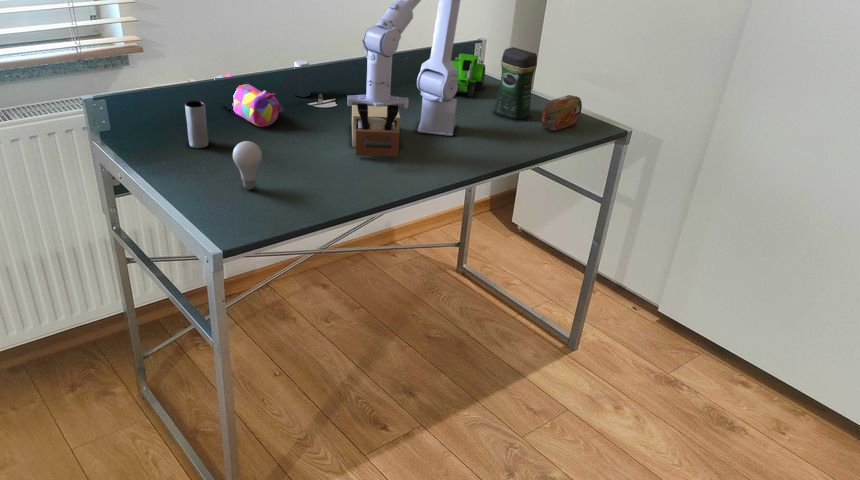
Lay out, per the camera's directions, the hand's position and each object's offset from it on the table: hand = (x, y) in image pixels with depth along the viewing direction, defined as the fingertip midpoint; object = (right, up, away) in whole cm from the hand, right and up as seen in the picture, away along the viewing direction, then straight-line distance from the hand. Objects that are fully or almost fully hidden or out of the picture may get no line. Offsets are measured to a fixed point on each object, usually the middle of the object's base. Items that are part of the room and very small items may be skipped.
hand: (376, 134), depth 179 cm
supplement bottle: (-24, +18, +33) cm, 44 cm away
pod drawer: (0, -4, +1) cm, 4 cm away
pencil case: (-36, +8, +17) cm, 40 cm away
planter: (-43, -3, -1) cm, 43 cm away
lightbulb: (-27, -16, -19) cm, 37 cm away
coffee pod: (0, -1, +1) cm, 1 cm away
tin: (+50, +7, +26) cm, 57 cm away
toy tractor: (+24, +23, +47) cm, 58 cm away
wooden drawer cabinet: (-1, +1, +11) cm, 11 cm away
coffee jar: (+37, +12, +32) cm, 50 cm away
